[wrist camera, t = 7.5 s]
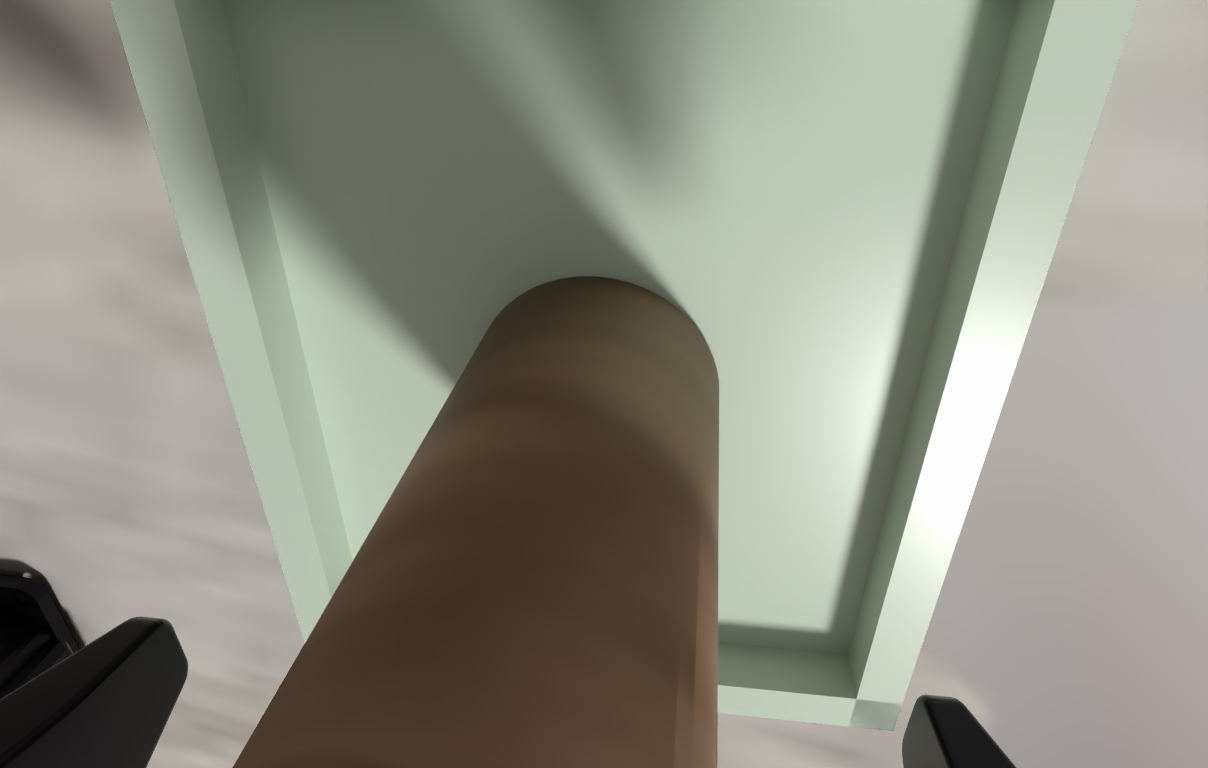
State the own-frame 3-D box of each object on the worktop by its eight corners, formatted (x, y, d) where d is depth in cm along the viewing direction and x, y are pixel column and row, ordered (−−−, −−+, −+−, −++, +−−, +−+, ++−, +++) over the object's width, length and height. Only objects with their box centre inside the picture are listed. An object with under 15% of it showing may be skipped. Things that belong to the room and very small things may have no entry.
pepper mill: (487, 474, 16) (203, 1136, 7) (465, 269, 13) (-14, 908, 5) (709, 493, 15) (692, 1236, 7) (730, 284, 13) (749, 1037, 4)
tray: (346, 608, 20) (312, 670, 18) (169, -92, 12) (79, -98, 10) (875, 659, 19) (892, 731, 17) (1095, -92, 10) (1172, -100, 9)
